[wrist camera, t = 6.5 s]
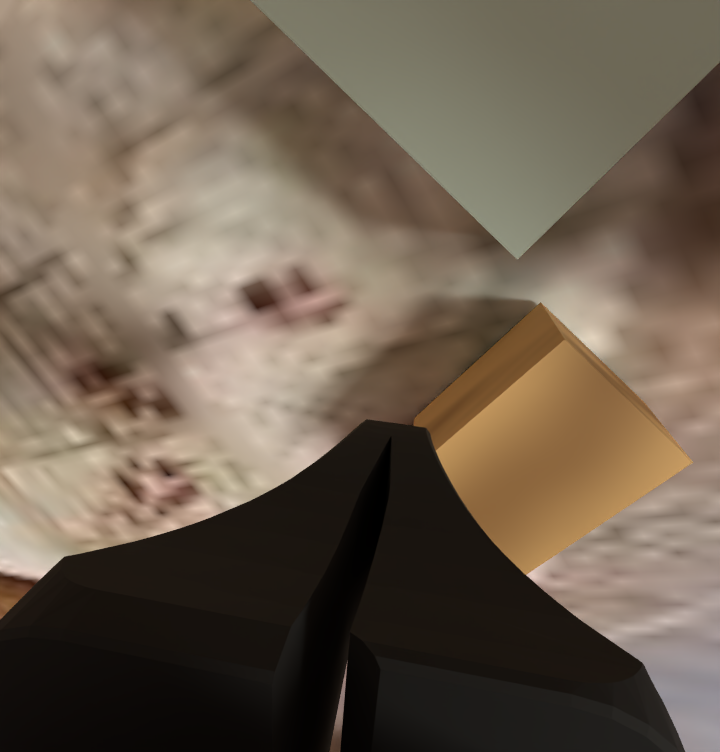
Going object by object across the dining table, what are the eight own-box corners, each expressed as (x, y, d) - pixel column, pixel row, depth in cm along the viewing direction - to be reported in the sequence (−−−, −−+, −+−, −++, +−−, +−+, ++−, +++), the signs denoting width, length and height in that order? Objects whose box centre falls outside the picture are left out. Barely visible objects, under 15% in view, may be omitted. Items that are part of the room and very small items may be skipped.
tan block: (643, 401, 18) (692, 462, 14) (509, 502, 20) (522, 576, 16) (540, 302, 17) (564, 339, 13) (414, 417, 19) (405, 476, 16)
